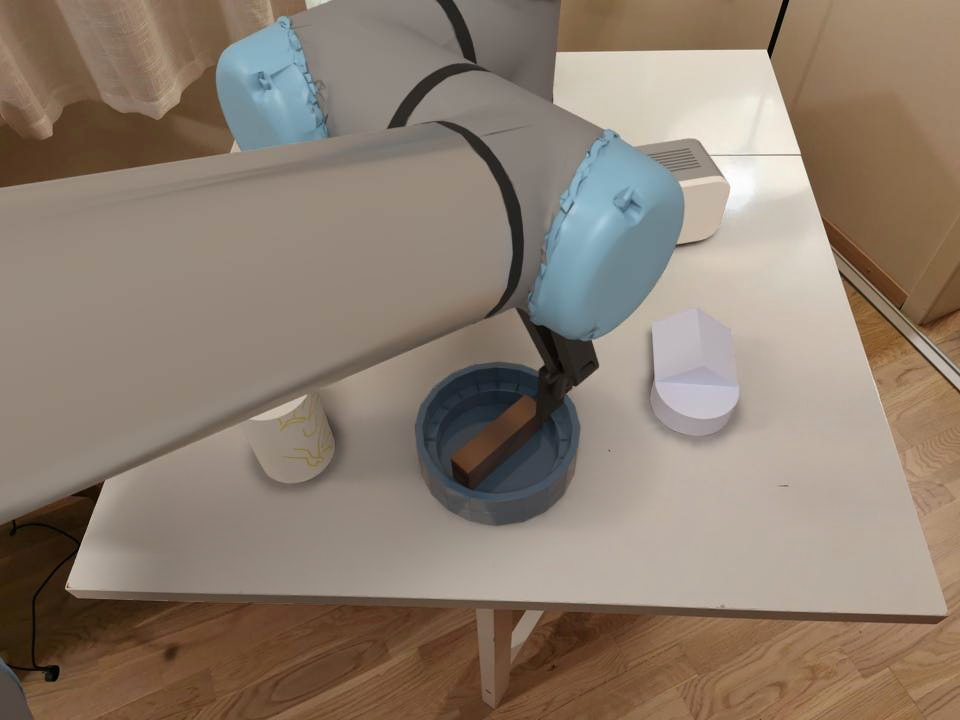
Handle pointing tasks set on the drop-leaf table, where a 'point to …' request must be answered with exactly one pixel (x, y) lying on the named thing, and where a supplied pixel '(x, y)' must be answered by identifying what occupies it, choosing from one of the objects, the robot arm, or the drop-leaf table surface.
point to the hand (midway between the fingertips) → (493, 366)
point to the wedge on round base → (693, 373)
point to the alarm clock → (693, 185)
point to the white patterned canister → (292, 439)
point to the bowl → (524, 475)
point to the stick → (496, 443)
